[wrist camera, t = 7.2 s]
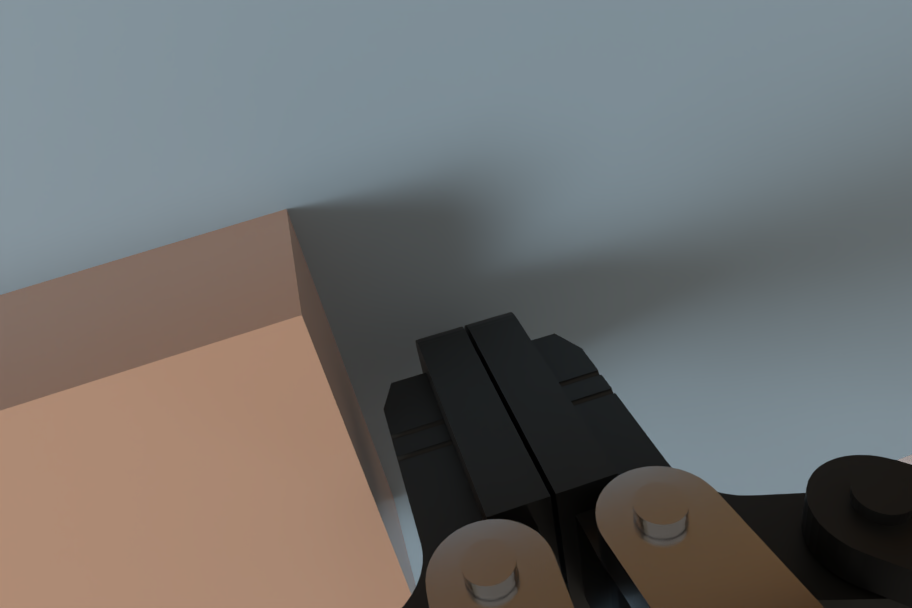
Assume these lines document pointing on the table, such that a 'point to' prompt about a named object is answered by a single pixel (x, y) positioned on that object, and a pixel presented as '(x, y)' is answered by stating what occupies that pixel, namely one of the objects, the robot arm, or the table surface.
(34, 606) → the tan rectangular block
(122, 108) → the block
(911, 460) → the table surface
